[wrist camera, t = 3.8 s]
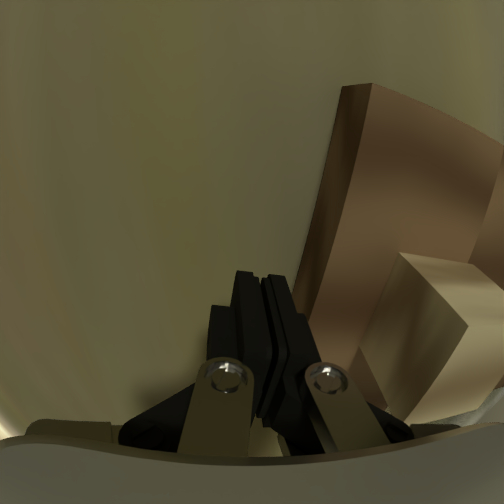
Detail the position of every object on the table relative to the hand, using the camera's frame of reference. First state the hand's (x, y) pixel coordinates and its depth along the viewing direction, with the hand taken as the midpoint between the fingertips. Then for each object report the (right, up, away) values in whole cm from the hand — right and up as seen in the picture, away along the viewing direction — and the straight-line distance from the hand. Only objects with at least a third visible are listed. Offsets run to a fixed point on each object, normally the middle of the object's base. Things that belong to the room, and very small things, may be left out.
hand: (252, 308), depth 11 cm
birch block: (+8, -1, +2) cm, 8 cm away
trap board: (+17, 0, +6) cm, 18 cm away
